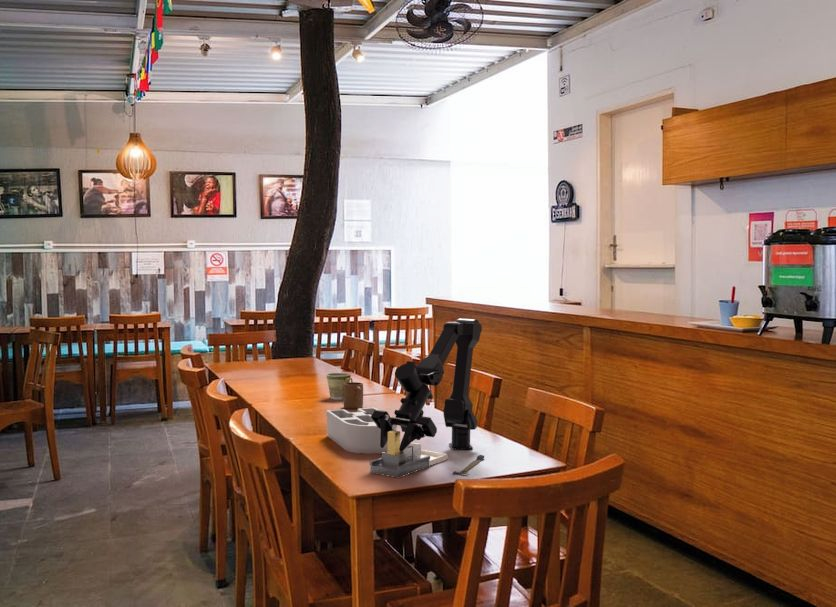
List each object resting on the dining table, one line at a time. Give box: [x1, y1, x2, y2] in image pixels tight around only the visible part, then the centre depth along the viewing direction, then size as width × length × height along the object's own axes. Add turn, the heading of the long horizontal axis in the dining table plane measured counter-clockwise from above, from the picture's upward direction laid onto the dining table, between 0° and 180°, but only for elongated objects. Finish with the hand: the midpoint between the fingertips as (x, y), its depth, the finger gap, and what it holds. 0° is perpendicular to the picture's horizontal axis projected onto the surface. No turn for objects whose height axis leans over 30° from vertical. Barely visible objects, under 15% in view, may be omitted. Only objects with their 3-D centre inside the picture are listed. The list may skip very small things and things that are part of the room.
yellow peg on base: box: [381, 430, 405, 467], centre depth 212 cm, size 3×6×9 cm, turn 57°
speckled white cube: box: [408, 442, 422, 461], centre depth 219 cm, size 4×4×4 cm
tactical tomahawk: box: [452, 454, 485, 477], centre depth 219 cm, size 21×7×1 cm, turn 157°
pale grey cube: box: [400, 446, 412, 463], centre depth 215 cm, size 4×4×4 cm
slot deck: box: [369, 456, 430, 478], centre depth 215 cm, size 15×10×3 cm, turn 147°
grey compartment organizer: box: [325, 407, 398, 454], centre depth 245 cm, size 17×28×9 cm, turn 22°
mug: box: [343, 381, 364, 410], centre depth 304 cm, size 12×8×9 cm, turn 22°
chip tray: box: [421, 449, 449, 467], centre depth 225 cm, size 10×9×2 cm
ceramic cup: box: [326, 372, 354, 401], centre depth 325 cm, size 13×10×10 cm
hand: (390, 448), depth 210 cm, fingers open, 6 cm apart
